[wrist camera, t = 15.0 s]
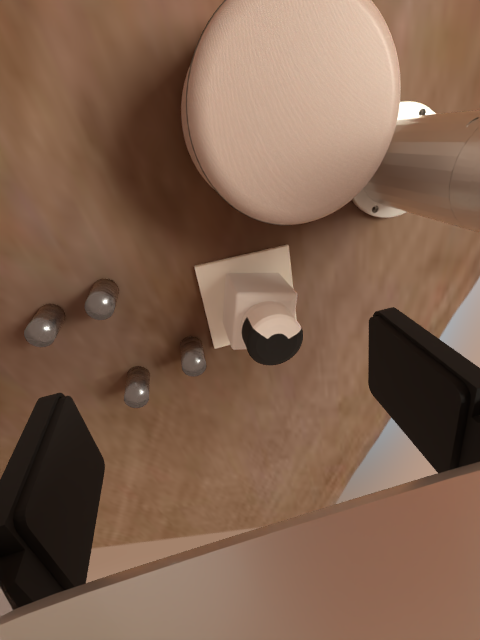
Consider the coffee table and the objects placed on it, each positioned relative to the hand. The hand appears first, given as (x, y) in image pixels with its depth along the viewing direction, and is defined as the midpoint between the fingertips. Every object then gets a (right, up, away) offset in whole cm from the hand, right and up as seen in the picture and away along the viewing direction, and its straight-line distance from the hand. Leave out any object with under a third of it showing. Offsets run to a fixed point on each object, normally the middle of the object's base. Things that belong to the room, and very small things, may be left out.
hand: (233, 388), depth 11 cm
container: (+3, +24, +27) cm, 36 cm away
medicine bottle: (+2, +5, +35) cm, 36 cm away
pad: (+1, +5, +36) cm, 36 cm away
